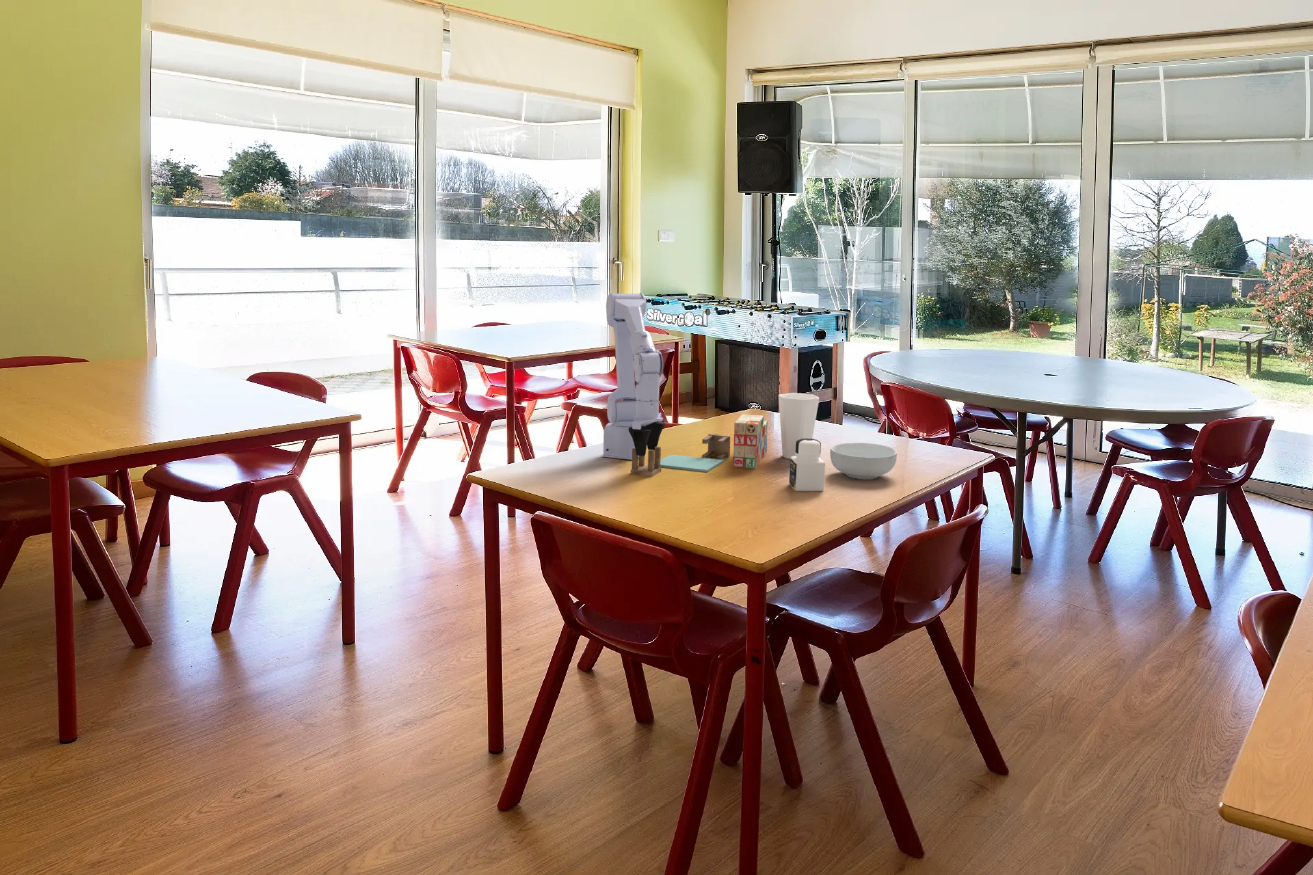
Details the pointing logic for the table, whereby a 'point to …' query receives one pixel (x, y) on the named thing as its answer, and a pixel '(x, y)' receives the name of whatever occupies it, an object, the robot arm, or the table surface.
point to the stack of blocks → (749, 441)
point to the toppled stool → (717, 446)
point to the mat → (689, 463)
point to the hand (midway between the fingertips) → (646, 452)
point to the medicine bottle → (807, 466)
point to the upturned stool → (653, 463)
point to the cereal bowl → (863, 459)
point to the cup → (796, 419)
